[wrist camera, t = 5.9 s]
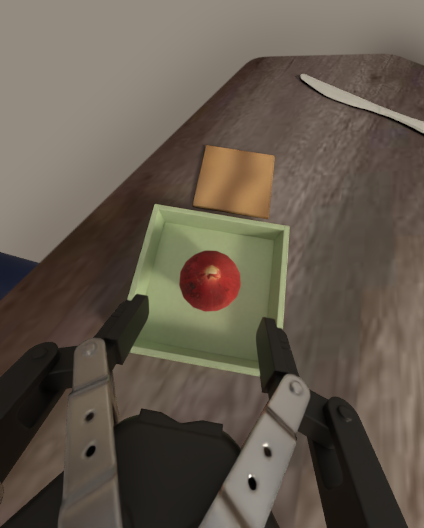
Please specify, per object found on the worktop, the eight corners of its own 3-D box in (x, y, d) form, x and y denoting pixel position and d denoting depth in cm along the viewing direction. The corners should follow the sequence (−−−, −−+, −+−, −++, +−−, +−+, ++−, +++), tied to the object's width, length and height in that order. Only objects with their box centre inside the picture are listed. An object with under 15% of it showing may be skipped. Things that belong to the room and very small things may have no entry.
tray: (128, 343, 19) (112, 349, 16) (162, 218, 23) (154, 203, 20) (267, 368, 19) (279, 380, 16) (278, 237, 23) (289, 226, 20)
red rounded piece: (195, 319, 20) (187, 325, 12) (177, 272, 21) (159, 251, 13) (242, 299, 20) (263, 292, 13) (222, 254, 22) (230, 224, 14)
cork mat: (192, 206, 24) (192, 205, 23) (206, 147, 26) (206, 144, 26) (267, 219, 23) (268, 217, 23) (273, 158, 26) (274, 155, 26)
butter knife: (463, 151, 26) (469, 137, 27) (296, 81, 30) (304, 69, 30) (458, 155, 27) (464, 140, 27) (294, 85, 30) (302, 74, 31)
